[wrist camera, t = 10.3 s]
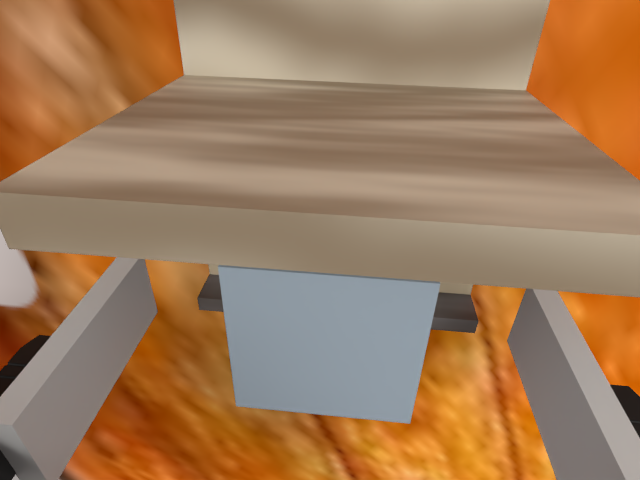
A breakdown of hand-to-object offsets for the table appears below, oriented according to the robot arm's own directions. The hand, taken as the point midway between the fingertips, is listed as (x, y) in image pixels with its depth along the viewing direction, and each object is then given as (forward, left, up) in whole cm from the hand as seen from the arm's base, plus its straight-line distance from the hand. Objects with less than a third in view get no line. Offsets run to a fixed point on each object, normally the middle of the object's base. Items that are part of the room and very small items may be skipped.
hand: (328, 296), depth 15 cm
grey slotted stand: (-2, 0, -11) cm, 11 cm away
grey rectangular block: (0, 0, -7) cm, 7 cm away
